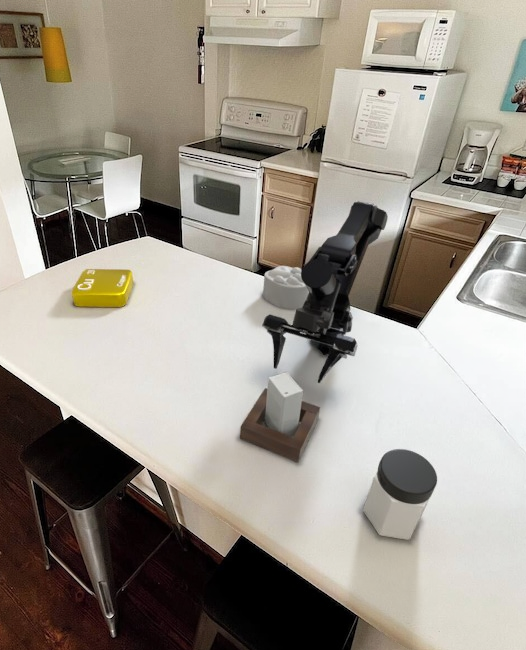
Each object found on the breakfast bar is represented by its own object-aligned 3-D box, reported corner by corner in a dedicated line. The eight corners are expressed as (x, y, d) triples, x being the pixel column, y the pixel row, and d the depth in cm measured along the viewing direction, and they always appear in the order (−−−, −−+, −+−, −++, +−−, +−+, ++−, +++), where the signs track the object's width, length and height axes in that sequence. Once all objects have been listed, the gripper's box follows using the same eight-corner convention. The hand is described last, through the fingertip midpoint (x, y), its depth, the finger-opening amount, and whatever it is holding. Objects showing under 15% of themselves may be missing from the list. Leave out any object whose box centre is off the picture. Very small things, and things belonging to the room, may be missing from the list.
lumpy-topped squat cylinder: (282, 284, 136) (284, 258, 131) (315, 301, 128) (319, 274, 123) (258, 296, 130) (259, 270, 125) (292, 314, 122) (295, 287, 117)
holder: (264, 399, 95) (265, 387, 93) (318, 419, 90) (320, 407, 88) (239, 438, 86) (240, 426, 84) (298, 462, 82) (300, 450, 80)
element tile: (125, 307, 124) (123, 293, 122) (72, 307, 124) (68, 292, 122) (134, 281, 137) (133, 267, 134) (86, 280, 137) (83, 266, 134)
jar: (378, 483, 78) (394, 438, 71) (425, 511, 74) (446, 465, 67) (355, 520, 72) (369, 474, 66) (404, 552, 68) (424, 506, 61)
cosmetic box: (297, 435, 87) (304, 391, 80) (278, 442, 85) (284, 398, 78) (281, 414, 91) (286, 370, 84) (263, 421, 90) (267, 377, 83)
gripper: (268, 279, 86) (242, 355, 84) (365, 304, 79) (338, 387, 77) (280, 295, 96) (257, 363, 95) (366, 318, 89) (343, 391, 88)
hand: (296, 375), depth 88 cm, fingers open, 9 cm apart
